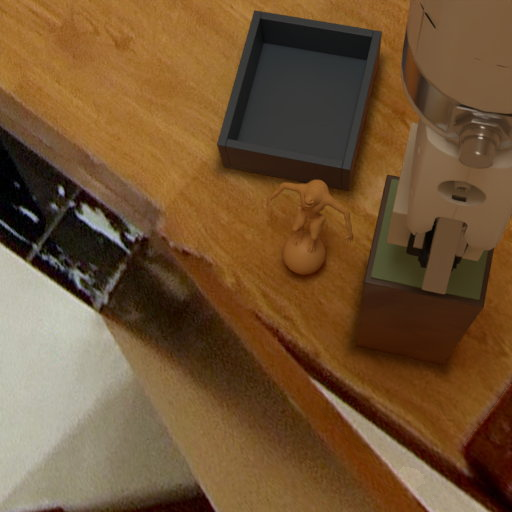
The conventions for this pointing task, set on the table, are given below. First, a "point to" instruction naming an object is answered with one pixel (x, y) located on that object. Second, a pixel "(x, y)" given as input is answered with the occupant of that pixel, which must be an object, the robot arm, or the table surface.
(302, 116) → the tray
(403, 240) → the beige block
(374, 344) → the stand
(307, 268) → the figurine
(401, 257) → the mat
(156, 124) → the table surface
